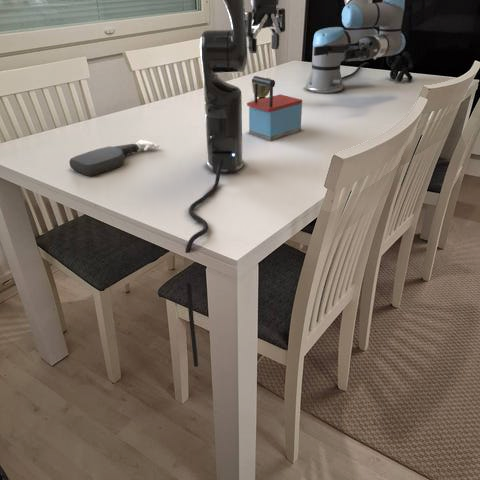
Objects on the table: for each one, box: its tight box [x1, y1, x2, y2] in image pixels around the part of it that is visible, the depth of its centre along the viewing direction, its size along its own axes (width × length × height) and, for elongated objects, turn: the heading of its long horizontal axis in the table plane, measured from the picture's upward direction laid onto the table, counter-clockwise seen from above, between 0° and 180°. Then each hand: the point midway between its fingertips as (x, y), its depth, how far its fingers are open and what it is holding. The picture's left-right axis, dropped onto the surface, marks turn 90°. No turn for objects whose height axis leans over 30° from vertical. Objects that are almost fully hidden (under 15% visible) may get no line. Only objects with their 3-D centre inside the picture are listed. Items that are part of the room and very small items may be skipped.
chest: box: [248, 102, 303, 141], centre depth 141 cm, size 14×10×9 cm
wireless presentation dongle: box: [68, 139, 160, 177], centre depth 124 cm, size 3×11×24 cm
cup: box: [251, 76, 271, 100], centre depth 173 cm, size 8×7×8 cm
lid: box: [246, 75, 303, 112], centre depth 136 cm, size 14×10×9 cm
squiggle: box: [385, 51, 414, 83], centre depth 198 cm, size 11×10×15 cm
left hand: (264, 50), depth 127 cm, fingers open, 8 cm apart
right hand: (329, 53), depth 148 cm, fingers open, 13 cm apart
